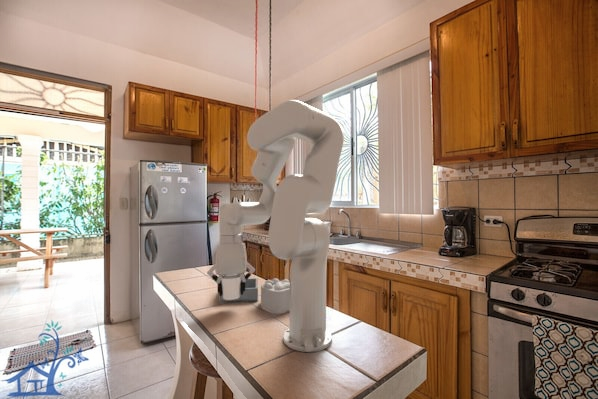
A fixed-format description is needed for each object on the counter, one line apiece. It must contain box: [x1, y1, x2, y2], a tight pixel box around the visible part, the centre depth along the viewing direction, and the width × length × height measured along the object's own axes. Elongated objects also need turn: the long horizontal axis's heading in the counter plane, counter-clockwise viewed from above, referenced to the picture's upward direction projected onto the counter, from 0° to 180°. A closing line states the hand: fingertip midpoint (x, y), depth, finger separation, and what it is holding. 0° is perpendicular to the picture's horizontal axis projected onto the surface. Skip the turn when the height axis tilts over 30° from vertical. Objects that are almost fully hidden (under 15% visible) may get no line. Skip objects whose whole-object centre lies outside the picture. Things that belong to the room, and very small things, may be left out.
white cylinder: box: [221, 274, 242, 300], centre depth 90 cm, size 7×7×7 cm
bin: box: [218, 277, 259, 304], centre depth 104 cm, size 14×14×5 cm
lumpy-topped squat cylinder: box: [260, 277, 290, 315], centre depth 94 cm, size 10×13×9 cm
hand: (231, 293), depth 90 cm, fingers closed on white cylinder, 6 cm apart
